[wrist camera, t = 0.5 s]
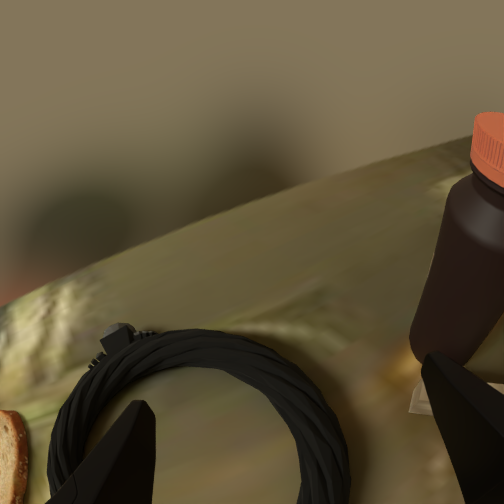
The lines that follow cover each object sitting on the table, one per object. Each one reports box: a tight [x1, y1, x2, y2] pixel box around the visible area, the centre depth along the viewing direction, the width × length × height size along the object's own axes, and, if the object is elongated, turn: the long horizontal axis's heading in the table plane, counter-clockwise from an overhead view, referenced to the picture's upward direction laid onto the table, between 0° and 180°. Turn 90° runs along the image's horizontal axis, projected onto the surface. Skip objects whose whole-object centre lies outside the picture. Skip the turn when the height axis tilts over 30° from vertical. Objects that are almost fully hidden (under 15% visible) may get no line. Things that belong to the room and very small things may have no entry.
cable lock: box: [47, 323, 351, 504], centre depth 20 cm, size 28×4×30 cm
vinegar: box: [409, 112, 504, 366], centre depth 17 cm, size 7×7×20 cm
